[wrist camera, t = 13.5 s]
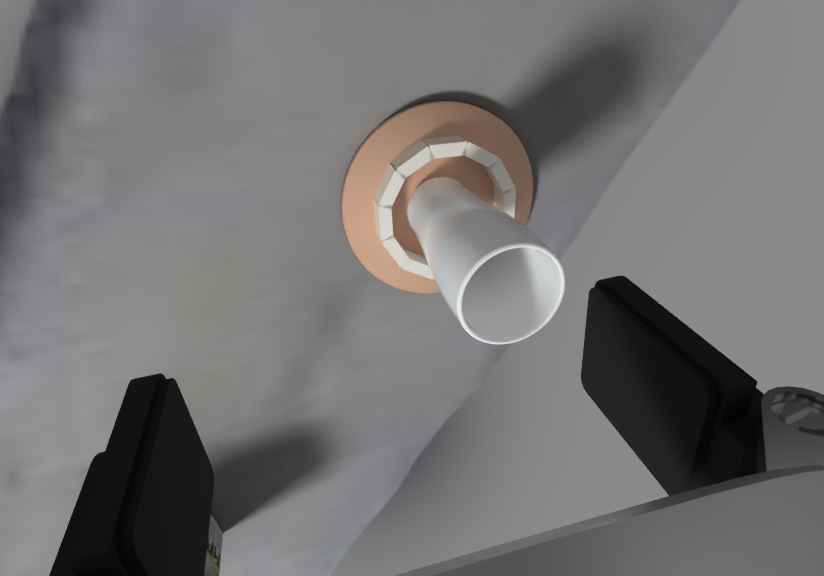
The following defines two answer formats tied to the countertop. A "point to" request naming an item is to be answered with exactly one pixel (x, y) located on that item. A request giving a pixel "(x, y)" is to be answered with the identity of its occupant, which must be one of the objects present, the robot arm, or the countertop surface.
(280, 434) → the countertop surface
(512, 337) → the drinking glass
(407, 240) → the tan saucer
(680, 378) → the robot arm
